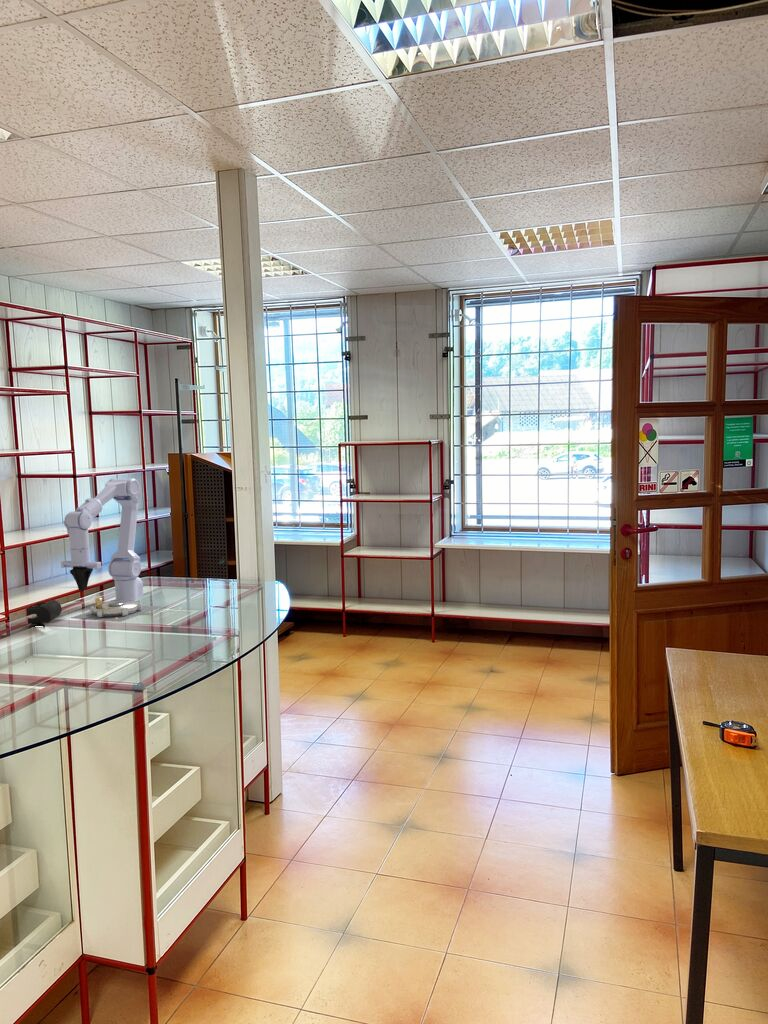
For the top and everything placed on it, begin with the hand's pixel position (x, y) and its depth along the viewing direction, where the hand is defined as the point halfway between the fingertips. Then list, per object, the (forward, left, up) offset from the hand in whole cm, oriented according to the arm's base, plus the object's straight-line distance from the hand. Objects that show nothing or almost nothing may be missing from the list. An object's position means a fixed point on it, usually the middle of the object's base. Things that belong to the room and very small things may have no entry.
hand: (82, 590), depth 235 cm
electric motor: (+9, -8, -10) cm, 15 cm away
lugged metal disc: (-4, +9, -8) cm, 13 cm away
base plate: (-4, +9, -9) cm, 14 cm away
